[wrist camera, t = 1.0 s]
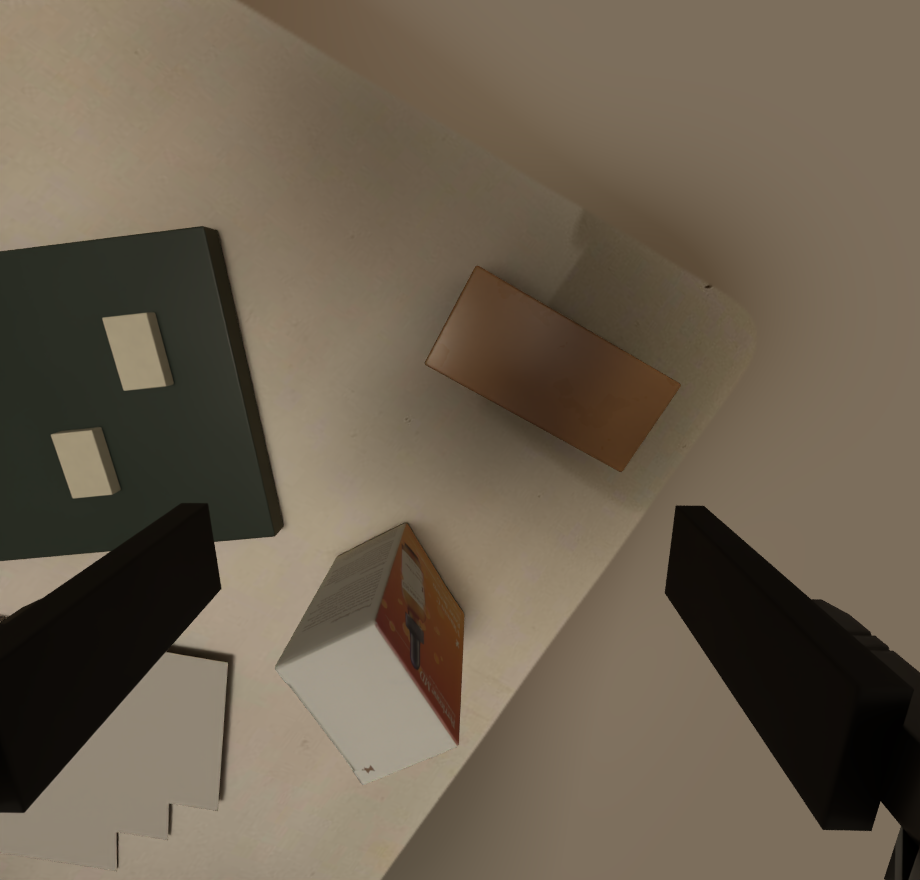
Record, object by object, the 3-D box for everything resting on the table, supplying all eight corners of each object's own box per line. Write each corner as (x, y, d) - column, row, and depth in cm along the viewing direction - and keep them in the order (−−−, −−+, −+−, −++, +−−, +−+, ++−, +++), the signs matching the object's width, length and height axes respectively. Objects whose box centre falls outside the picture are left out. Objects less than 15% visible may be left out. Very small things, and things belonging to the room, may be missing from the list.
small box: (466, 613, 33) (463, 751, 23) (395, 645, 34) (362, 791, 24) (407, 518, 31) (375, 621, 21) (334, 554, 32) (270, 670, 22)
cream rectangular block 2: (111, 317, 27) (101, 317, 26) (155, 312, 27) (146, 312, 26) (132, 388, 28) (123, 391, 27) (174, 384, 28) (166, 386, 27)
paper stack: (216, 886, 41) (212, 896, 40) (-87, 838, 40) (-97, 847, 39) (232, 656, 34) (227, 663, 34) (-128, 594, 34) (-140, 600, 33)
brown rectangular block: (433, 351, 28) (423, 364, 23) (475, 272, 27) (476, 264, 21) (592, 440, 30) (621, 473, 24) (639, 368, 28) (682, 384, 23)
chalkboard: (-184, 279, 28) (-220, 278, 27) (217, 229, 27) (203, 225, 25) (-62, 557, 33) (-86, 569, 31) (284, 526, 32) (275, 536, 30)
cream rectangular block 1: (61, 430, 29) (49, 434, 28) (101, 426, 28) (91, 430, 28) (82, 493, 30) (72, 499, 29) (121, 490, 30) (112, 495, 29)
